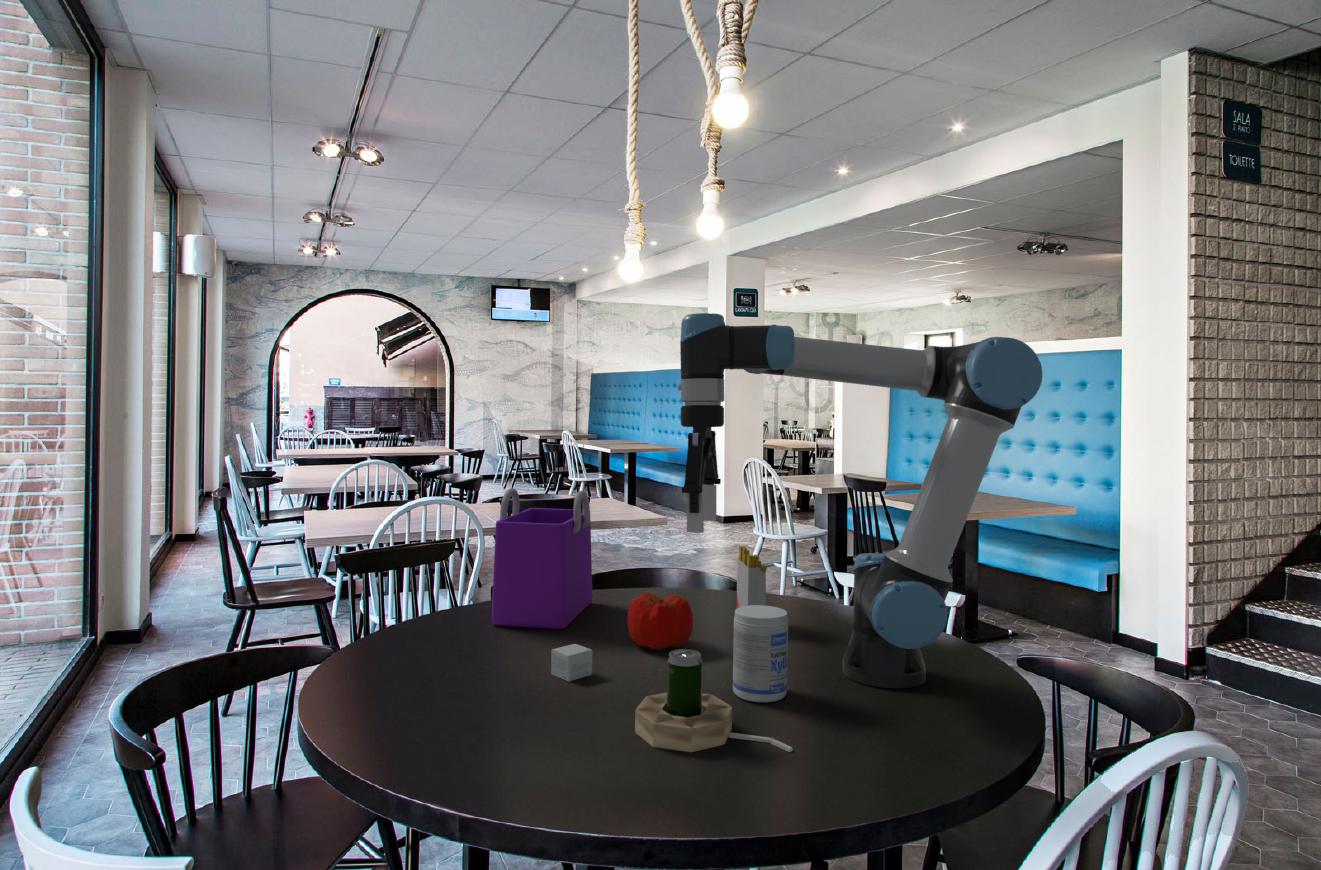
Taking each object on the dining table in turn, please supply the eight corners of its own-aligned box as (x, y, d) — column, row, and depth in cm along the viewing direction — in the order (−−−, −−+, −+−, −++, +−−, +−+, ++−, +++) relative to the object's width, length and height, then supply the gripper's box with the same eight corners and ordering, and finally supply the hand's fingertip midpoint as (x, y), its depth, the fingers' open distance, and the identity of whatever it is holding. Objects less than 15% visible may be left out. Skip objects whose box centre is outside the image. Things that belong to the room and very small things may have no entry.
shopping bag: (587, 631, 173) (588, 496, 171) (488, 630, 172) (489, 495, 171) (593, 599, 201) (594, 484, 200) (508, 599, 200) (509, 483, 199)
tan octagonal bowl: (736, 718, 125) (736, 697, 125) (719, 756, 112) (719, 732, 112) (652, 708, 129) (653, 687, 129) (626, 743, 115) (626, 720, 115)
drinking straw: (794, 743, 116) (794, 740, 116) (792, 752, 113) (792, 749, 113) (729, 735, 119) (729, 732, 119) (725, 743, 116) (725, 740, 116)
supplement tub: (782, 707, 130) (784, 620, 130) (726, 700, 133) (728, 615, 132) (790, 688, 139) (792, 606, 139) (738, 681, 142) (740, 602, 142)
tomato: (617, 650, 159) (618, 599, 159) (642, 633, 172) (643, 586, 171) (679, 659, 154) (680, 607, 154) (701, 641, 166) (702, 592, 166)
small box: (574, 667, 149) (574, 642, 148) (593, 675, 145) (593, 649, 144) (549, 674, 145) (550, 648, 145) (568, 682, 141) (569, 656, 140)
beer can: (679, 740, 117) (680, 661, 116) (659, 728, 121) (660, 652, 121) (708, 733, 120) (709, 656, 119) (688, 720, 124) (689, 646, 124)
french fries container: (754, 620, 183) (756, 544, 183) (767, 633, 173) (768, 553, 172) (736, 620, 183) (737, 544, 182) (746, 633, 172) (748, 553, 171)
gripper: (694, 404, 147) (694, 515, 148) (665, 403, 123) (665, 536, 124) (733, 404, 146) (733, 516, 146) (712, 403, 121) (712, 538, 122)
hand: (702, 526), depth 135 cm, fingers open, 13 cm apart
